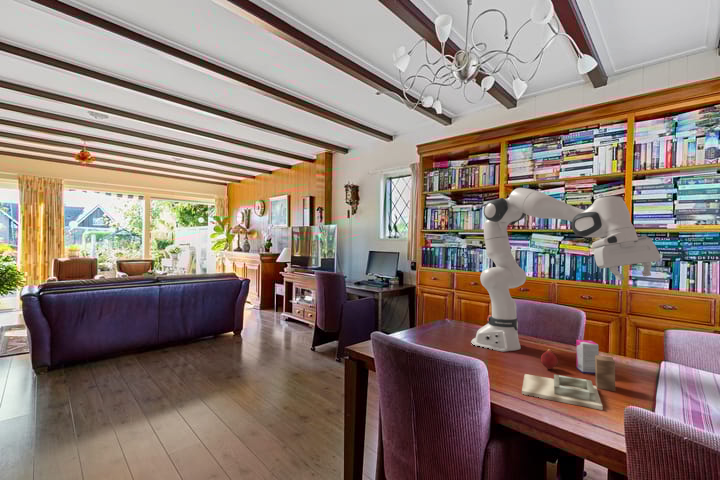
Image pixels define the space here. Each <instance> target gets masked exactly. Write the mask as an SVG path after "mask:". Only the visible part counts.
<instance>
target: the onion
mask: <svg viewBox="0 0 720 480" xmlns="http://www.w3.org/2000/svg"><path fill="white" fill-rule="evenodd" d="M540 361H541V362H540V363H542V366H544V367H545V368H546V369H548V370H552V369H554V368H555V367H556V366H557V365H558V361H559V360H558V357H557V356H556V354H555V353H553V351H552V349H550V348H548V349H547V350H546V351H545V352H543V353H542V354H541V356H540Z"/></svg>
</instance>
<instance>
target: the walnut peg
mask: <svg viewBox="0 0 720 480" xmlns="http://www.w3.org/2000/svg"><path fill="white" fill-rule="evenodd" d="M615 363H616V362H615V359H614V357H612V356H605V355H595V374H594V375H595V386H596V387H597V389H600V390H606V391H612V392H616V364H615Z"/></svg>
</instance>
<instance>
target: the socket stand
mask: <svg viewBox="0 0 720 480" xmlns="http://www.w3.org/2000/svg"><path fill="white" fill-rule="evenodd" d="M523 394H524V396H528V395H529V397H533V396H534V397H533V398H538V397H539V398H540V399H544V400H549V401H554V402H560V403H563V404H569V405H574V406H580V407H585V408H590V409H595V410H600V411H603V410H604V409H603V406H604V405H603V403H602V400H601V397H600V395H599V390H598V388H597V386H596V385H593V382H592V380H591V379H584V378H579V377H573V376H567V375H566V376H565V375H560V374H553V378H551V377H545V376H540V375H534V374H533V375H532V374H527V373H524V376H523V381H522V388H521V395H523Z"/></svg>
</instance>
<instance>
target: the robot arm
mask: <svg viewBox="0 0 720 480" xmlns="http://www.w3.org/2000/svg"><path fill="white" fill-rule="evenodd" d="M526 215H527V216H530V217H533V218H538V219H550V220H552V219H553V220H554V219H556V220H565V221H569V222H571V230H572V231H573V233H574V234H575V235H576V236H578V237H582V238H599V239H598V240H596V241H593V242H592V244H591V245H592V248H593V249H594V250H593V256H594V257H593V258H594V260H595V264H596V266H597V267H598V268H599V269H607V268H608V270H609V271H610V272H611V273H612V274H613V275H614V277H615V279H616V280H617V281H620V280H625V276H624V273H620V272H619V267H624V266H631V265H637V264H641V265H642V267H643V271H641V274H642V276H643V277H650V276H652V273H651V272H652V271H651V268H652V263H653V262H657V261H658V262H659V261H660V260H661V254H660V253H659V250H658V247H657V246H656V244H655V243H654V242H653V239H652V238H651V237H649V236H647V235H641V236H638V234H637V231H636V229H635V225H634V224H632V220H631V213H630V211H629V208H628V207H627V204H626V202H625V201H624V199H623V197H621V196H619V195H613V194H612V195H605V196H601V197H597V198H596V199H594V201H593V203H592V204H591V205H590V206H589V207H587V209H583V208H581V207H578V206H574V205H571V204H568V203H566V202H564V201H561V200H559V199H557V198H555V197H553V196H550V195H548V194H546V193H543V192H541V191H538V190H535V189H531V188H526V187H525V188H524V187H516V188H515V189H513V190H512V191H511V192H510V194H509V196H508V197H507V198H504V197H500V198H496V199H492V200H489V201H488V202H486V203H485V205H484V208H483V216H484V218H485V219H486V220H485V221H484V223H483V238H484V243H485V244H484V245H485V251H486V255H487V257H488V258H489V259H490V260H491V261H492V262H493V263H494V264H495V266H494V267H493V266H492V267H489V268H486V269H483V271H481V273H480V276H479V277H480V278H479V280H480V284H481V285H482V287H484V288H485V290H487V292H488V294H489V299H490V302H491V314H489V315H488V316H487V323H486V324H485V325H483V326H482V327H480V328H479V329H478V330H477V331H476V335H475V337H474V338H472V340H471V341H470V344H471V343H472V344H473V345H475V346H474V347H477V346H480V347H479V348H482V347H484V348H483V349H487V348H489V349H488V350H492V349H493V351H498V352H502V353H503V352H509V351H510V352H511V351H512V352H513V351H518V350H521V348H522V347H521V344H520V340H519V335H518V329H519V321H518V318H517V302H516V300H515V299H514V298H512V296H511V293H510V289H515V288H516V289H517V288H518V287H520V286H522V285H524V284H525V283H526V281H527V274H526V272H525V270H524V269H523V268H521V266H519V264H518V263H517V261H516V259H515V257H514V256H513V253H512V250H511V245H510V239H509V235H508V226H509V225H510V226H513V225H515V224H516V223H517V222H519V221H521V220H523V219H524V218H525V217H526ZM472 344H471V345H472ZM473 345H472V346H473Z"/></svg>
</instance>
